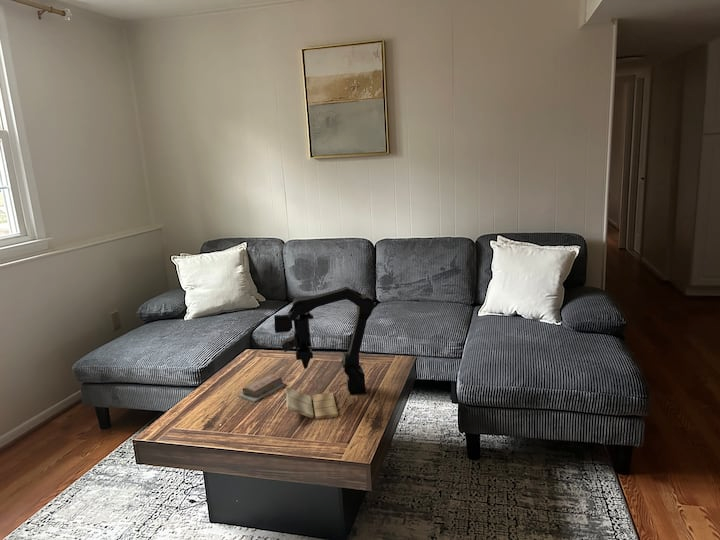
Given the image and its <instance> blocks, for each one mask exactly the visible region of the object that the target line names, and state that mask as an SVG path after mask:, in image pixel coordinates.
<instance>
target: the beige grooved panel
mask: <svg viewBox="0 0 720 540" xmlns="http://www.w3.org/2000/svg"><path fill="white" fill-rule="evenodd" d="M285 399H286V400H285V401H286V402H285V403H286V409H287V410H288V411H291V412H294V413H297V414H300V415H302V416H305V417H307V418H310V419H313V417H314V415H315V413H314V407H313V400H312V395H308V394H305V393H303V392H300V391H297V390H295V389H293V388H290V387H286V389H285Z"/></svg>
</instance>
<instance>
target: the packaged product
mask: <svg viewBox="0 0 720 540" xmlns="http://www.w3.org/2000/svg"><path fill="white" fill-rule="evenodd" d="M285 386H287V383H286V382H283V379H282V377H281V376H280V375H279V374H275V373H270V374H267V375H265V376H263V377H261V378H259V379H257V380H255V381H253V382H251V383H249V384H247V385H245V386H244V387H242V391H241V392H240V393H239V392H238V393H237V398H240V399H242V400H245V401H249V402H252V403H256V402H258V401H260V399H262V398H265V397H267V396H269V395H271V394H273V393H274V392H276V391H278V390H280V389H282V388H283V387H285Z"/></svg>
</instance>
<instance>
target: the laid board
mask: <svg viewBox="0 0 720 540" xmlns="http://www.w3.org/2000/svg"><path fill="white" fill-rule="evenodd" d="M311 399H312V405H313V411H314V415H315V420H322V419H329V418H337V417H339V413H338V409H337V405H336V401H335V397H334V394H333V392H325V393H317V394H312V395H311Z"/></svg>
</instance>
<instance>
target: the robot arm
mask: <svg viewBox="0 0 720 540" xmlns="http://www.w3.org/2000/svg"><path fill="white" fill-rule="evenodd" d="M344 300H347V301H350V302H351V303H352V304H354V305H356V319H355V322H354V323H355V324H354V327H353V332H352V336H351V341H350V344H349V347H348V351H347V352H346V353H345V352H343V353H342V358H341V361H340V362H341V363H340V364H341V365H342V368H343V371H344V373H345V375H346V376H347V379H346V385H347V386H346V387H347V391H348V392H349V395H359V394H360V395H361V394H366V393H367V389H366V379H365V377H366V375H365V372H364V370H363V367H362V366H361V365H360V350H361V347H362V343H363V338H364V335H365V331H366V327H367V322H368V320H369V318H370V317H371V316H372V312H373V311H374V309H375V302H374V300H373V298H372V297H371V296H370V295H369V294H366V293H363V294H362V293H361V292H358V291H356V290H354V289H352V288H350V287H349V286H344V287H342V288H339V289H335V290H332V291H328V292H325V293H321V294H318V295H303V296H296V297H295V298H294V299H293V301H292V306H291V307H290V309H289V311H288V312H287V314H275V315H273V316H274V317H273V318H274V333H275V334H282V333H290V332H291V331H292V329H293V328H294V333H293V334H294V335H292V336H289V337H288V338H285V339H283V340H282V341H280V346H281V348H282V350H283V352H285V353H286V352H288V351H289V350H292V349H293V348H295V349H296V350H295V360H297V361H301V363H302V366H303V369H308V366H309V363H310V360H311V359H314V352H313V349H312V339H311V331H310V330H311V329H310V320H312V319H313V320H314V315H313V314H312V313H311V311H313V310H315V309H316V308H318V307H322V306H326V305H329V304H332V303H336V302H339V301H344Z"/></svg>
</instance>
